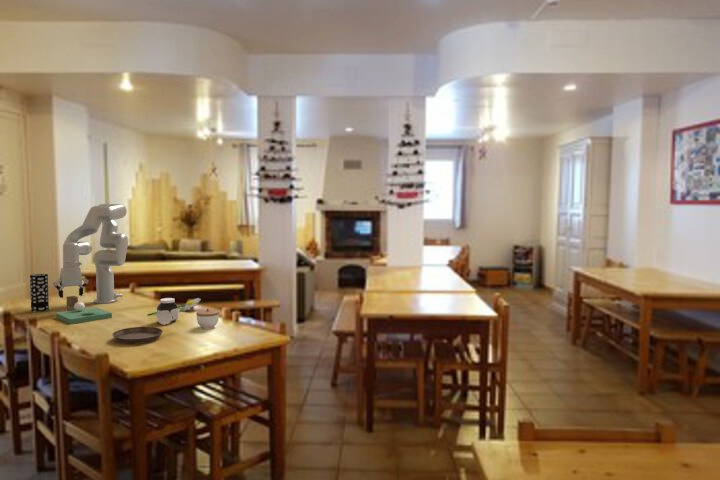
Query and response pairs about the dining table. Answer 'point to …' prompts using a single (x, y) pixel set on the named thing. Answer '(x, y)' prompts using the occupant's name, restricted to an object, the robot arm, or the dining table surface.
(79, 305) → the ball
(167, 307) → the spread jar
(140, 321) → the dining table surface
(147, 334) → the plant saucer
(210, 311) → the lidded jar
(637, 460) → the dining table surface
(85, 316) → the putting mat
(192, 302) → the decorative flower
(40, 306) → the spotted tube
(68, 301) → the brown block
